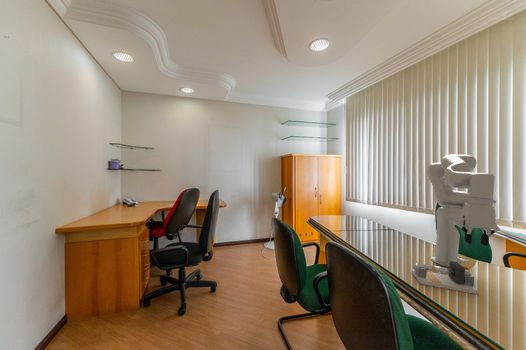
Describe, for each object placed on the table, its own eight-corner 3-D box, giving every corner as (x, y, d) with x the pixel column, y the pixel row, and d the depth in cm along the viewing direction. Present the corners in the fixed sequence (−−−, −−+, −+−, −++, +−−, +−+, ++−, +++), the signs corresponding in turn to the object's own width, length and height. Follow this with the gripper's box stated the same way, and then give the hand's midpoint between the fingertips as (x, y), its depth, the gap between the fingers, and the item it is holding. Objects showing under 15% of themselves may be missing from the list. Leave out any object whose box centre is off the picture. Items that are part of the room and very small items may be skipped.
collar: (454, 277, 99) (456, 261, 99) (463, 284, 93) (465, 268, 92) (448, 275, 100) (449, 260, 100) (456, 283, 93) (458, 267, 93)
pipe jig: (461, 280, 101) (462, 265, 100) (478, 294, 89) (479, 277, 89) (411, 271, 106) (412, 258, 106) (421, 283, 95) (422, 268, 95)
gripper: (498, 202, 94) (494, 244, 95) (451, 198, 100) (447, 238, 100) (512, 205, 87) (508, 250, 88) (460, 200, 92) (456, 243, 93)
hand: (476, 243), depth 94 cm, fingers open, 4 cm apart
